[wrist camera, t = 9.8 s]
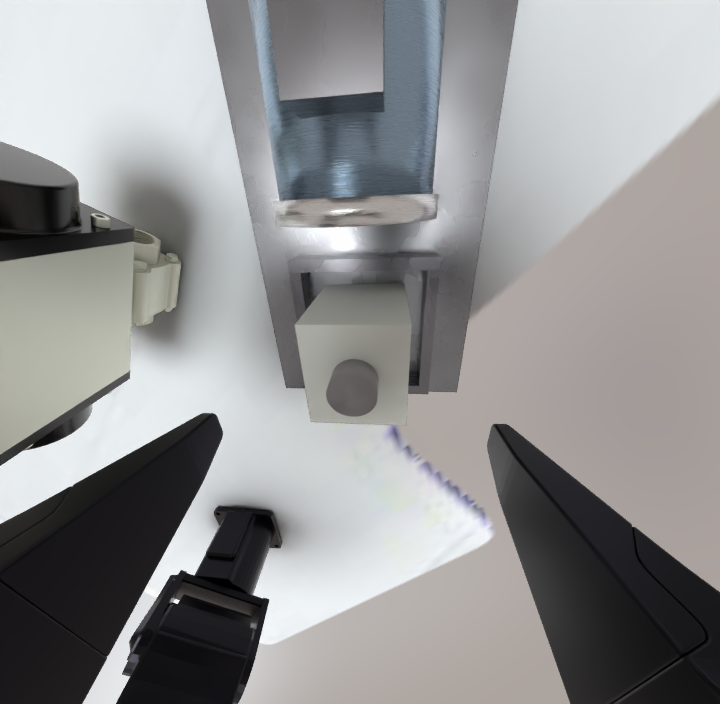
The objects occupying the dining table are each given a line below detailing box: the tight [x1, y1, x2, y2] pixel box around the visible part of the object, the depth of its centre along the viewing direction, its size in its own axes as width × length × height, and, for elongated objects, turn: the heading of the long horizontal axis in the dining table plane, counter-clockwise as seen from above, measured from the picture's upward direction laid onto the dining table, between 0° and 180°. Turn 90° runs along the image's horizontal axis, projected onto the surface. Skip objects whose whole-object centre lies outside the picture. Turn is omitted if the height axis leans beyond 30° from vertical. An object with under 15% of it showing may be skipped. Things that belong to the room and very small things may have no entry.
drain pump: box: [295, 283, 411, 426], centre depth 14 cm, size 5×4×7 cm
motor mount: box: [206, 0, 518, 394], centre depth 12 cm, size 20×12×8 cm, turn 2°
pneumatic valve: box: [0, 142, 182, 466], centre depth 12 cm, size 6×12×12 cm, turn 155°
